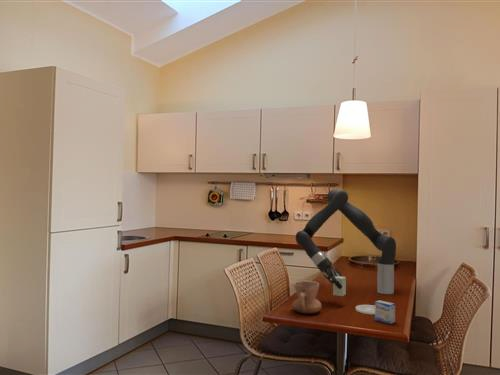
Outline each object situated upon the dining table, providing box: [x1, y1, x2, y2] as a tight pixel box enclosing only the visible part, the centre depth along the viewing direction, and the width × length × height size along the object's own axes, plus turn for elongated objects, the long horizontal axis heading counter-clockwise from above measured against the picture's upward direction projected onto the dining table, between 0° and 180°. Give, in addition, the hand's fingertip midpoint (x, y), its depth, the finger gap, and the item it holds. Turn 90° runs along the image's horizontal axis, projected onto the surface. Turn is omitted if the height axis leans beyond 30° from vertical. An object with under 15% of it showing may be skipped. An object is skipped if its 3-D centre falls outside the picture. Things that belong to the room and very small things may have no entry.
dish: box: [355, 304, 375, 316], centre depth 207 cm, size 13×13×1 cm
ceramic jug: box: [291, 280, 323, 315], centre depth 204 cm, size 18×14×14 cm
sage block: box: [332, 275, 347, 297], centre depth 217 cm, size 5×5×9 cm
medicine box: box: [374, 299, 396, 325], centre depth 191 cm, size 8×4×9 cm, turn 45°
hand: (342, 286), depth 216 cm, fingers closed on sage block, 5 cm apart
